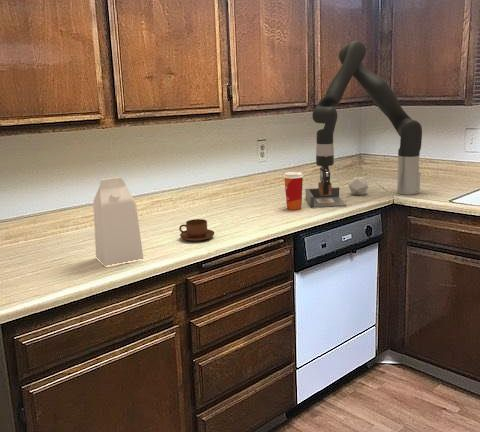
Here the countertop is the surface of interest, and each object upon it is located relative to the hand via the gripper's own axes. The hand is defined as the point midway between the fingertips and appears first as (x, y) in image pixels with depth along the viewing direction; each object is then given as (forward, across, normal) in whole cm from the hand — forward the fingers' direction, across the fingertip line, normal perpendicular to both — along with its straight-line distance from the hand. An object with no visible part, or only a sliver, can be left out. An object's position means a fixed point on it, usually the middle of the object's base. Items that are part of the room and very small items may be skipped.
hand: (324, 192), depth 236 cm
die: (+4, -14, +18) cm, 23 cm away
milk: (+5, +68, -75) cm, 102 cm away
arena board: (+4, 0, 0) cm, 4 cm away
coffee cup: (+4, +9, -14) cm, 18 cm away
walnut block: (+1, 0, 0) cm, 1 cm away
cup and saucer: (+5, +48, -52) cm, 71 cm away
